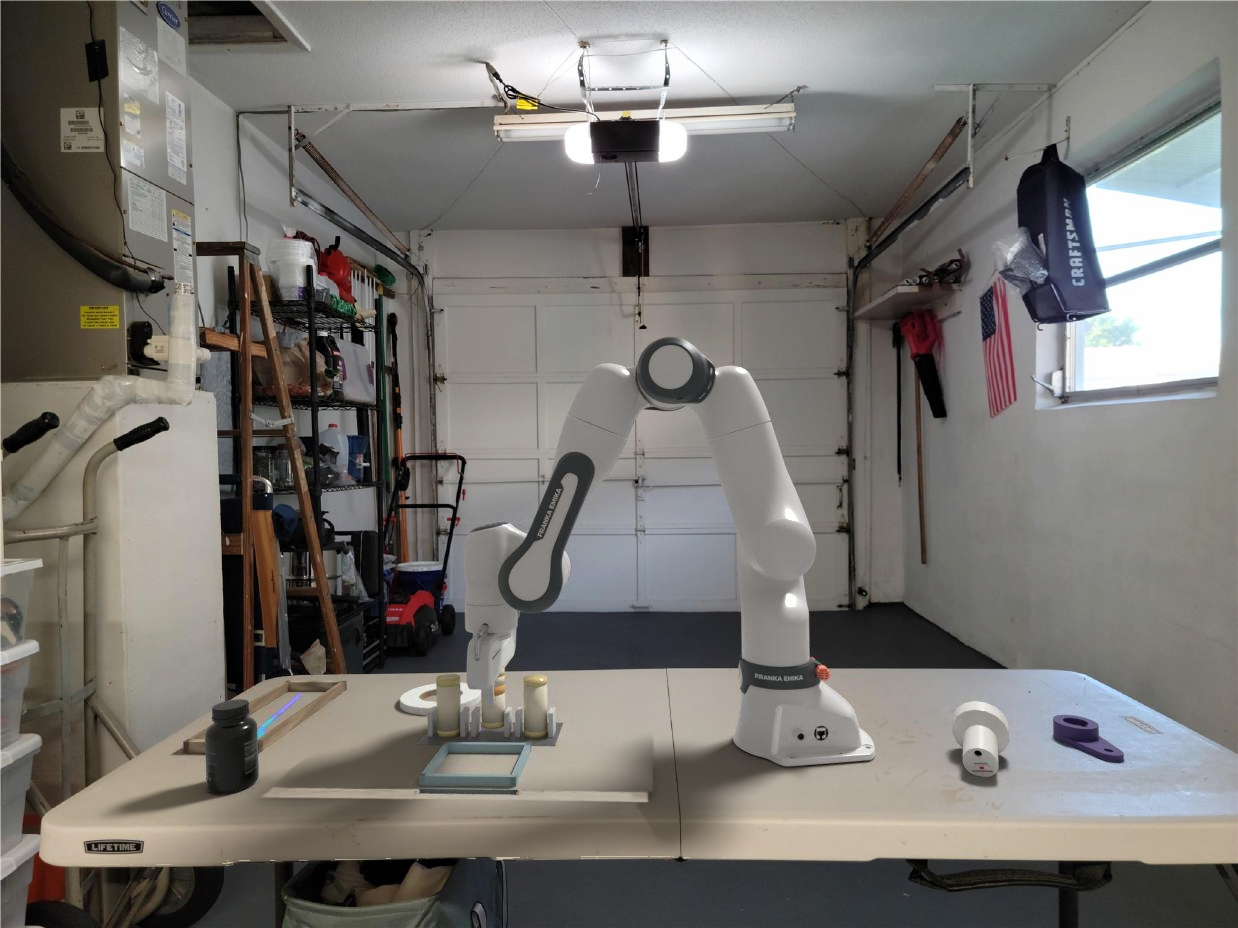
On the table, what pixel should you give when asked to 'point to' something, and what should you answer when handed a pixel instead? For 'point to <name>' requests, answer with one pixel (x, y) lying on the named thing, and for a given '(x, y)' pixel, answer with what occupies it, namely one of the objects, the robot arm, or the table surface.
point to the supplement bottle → (231, 748)
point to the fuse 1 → (448, 705)
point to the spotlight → (980, 736)
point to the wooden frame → (333, 690)
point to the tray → (474, 779)
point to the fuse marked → (495, 706)
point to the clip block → (477, 733)
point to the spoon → (276, 716)
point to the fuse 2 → (535, 706)
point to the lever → (1085, 737)
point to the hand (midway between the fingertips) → (493, 698)
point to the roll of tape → (417, 705)
